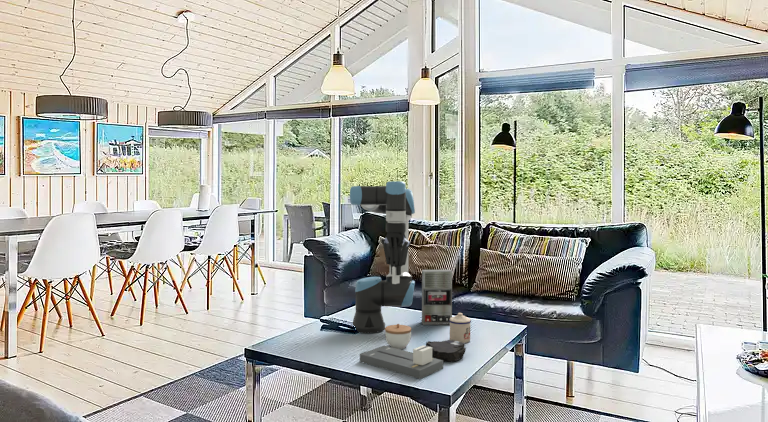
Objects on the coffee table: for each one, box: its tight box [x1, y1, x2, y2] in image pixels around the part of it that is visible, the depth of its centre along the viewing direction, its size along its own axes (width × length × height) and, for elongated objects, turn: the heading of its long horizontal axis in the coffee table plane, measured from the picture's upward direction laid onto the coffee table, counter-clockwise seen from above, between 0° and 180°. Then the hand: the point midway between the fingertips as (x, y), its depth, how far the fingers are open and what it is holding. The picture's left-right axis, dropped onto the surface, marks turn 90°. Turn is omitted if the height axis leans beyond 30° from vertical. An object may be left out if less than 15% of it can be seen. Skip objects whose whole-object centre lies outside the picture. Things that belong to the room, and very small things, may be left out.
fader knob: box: [412, 345, 432, 365], centre depth 205 cm, size 4×6×5 cm, turn 140°
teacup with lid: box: [449, 312, 472, 344], centre depth 244 cm, size 12×9×12 cm
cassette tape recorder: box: [421, 269, 453, 326], centre depth 270 cm, size 14×6×25 cm, turn 92°
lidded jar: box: [384, 323, 412, 350], centre depth 234 cm, size 11×11×9 cm
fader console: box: [359, 345, 444, 380], centre depth 212 cm, size 28×14×3 cm, turn 50°
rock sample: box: [425, 339, 467, 363], centre depth 223 cm, size 18×16×5 cm
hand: (395, 283), depth 221 cm, fingers closed
